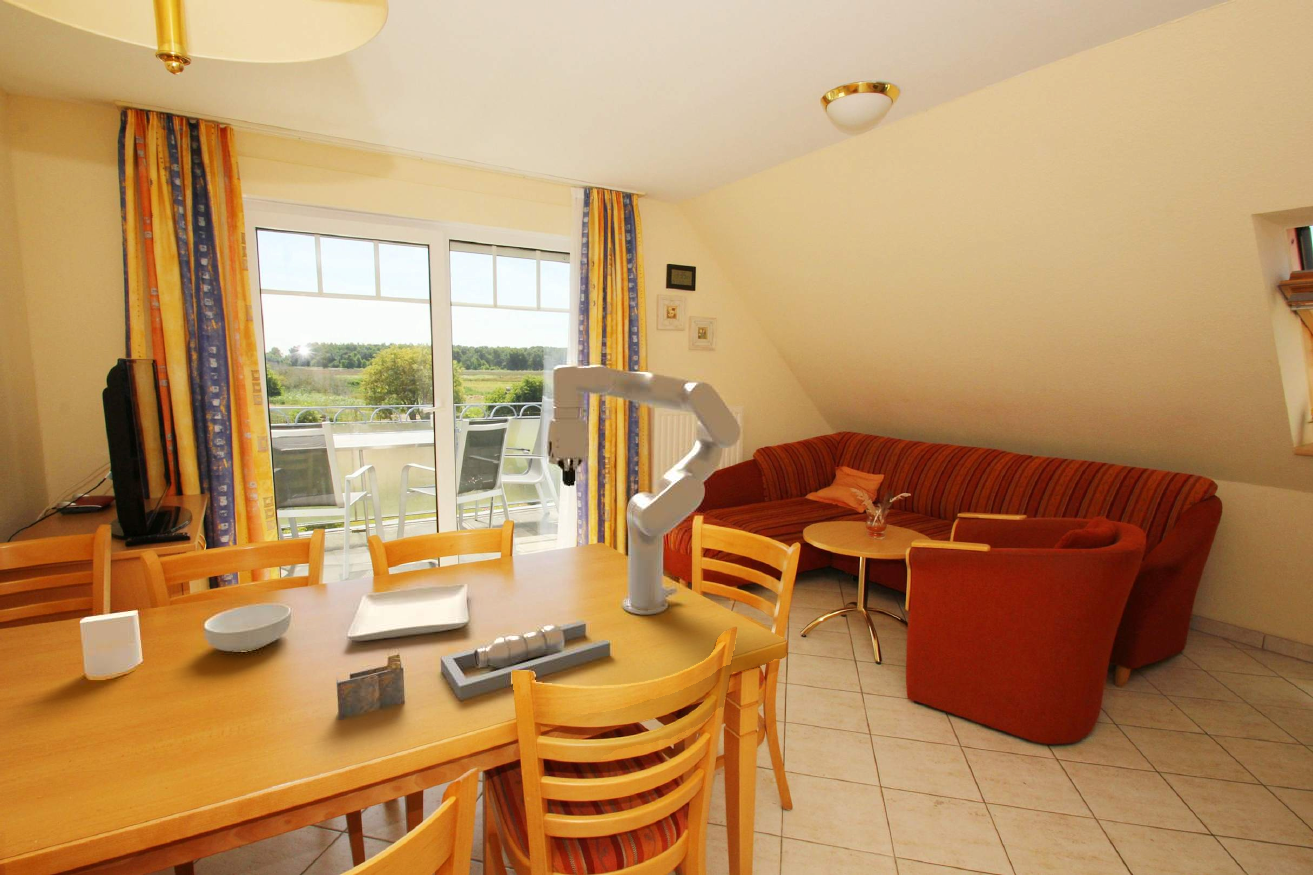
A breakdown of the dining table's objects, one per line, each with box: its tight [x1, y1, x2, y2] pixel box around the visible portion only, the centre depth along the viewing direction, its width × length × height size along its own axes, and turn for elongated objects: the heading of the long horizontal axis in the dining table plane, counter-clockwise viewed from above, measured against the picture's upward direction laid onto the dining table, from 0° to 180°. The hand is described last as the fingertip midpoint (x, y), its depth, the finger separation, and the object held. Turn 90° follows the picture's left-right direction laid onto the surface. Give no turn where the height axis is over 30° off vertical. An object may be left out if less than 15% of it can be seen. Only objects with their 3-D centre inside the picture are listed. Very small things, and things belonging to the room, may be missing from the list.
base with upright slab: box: [79, 610, 143, 677], centre depth 126 cm, size 9×9×12 cm
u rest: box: [440, 620, 611, 701], centre depth 131 cm, size 34×14×3 cm, turn 124°
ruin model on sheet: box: [335, 653, 406, 720], centre depth 113 cm, size 11×3×10 cm, turn 121°
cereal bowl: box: [203, 602, 292, 652], centre depth 138 cm, size 17×17×7 cm
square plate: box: [346, 583, 470, 642], centre depth 154 cm, size 27×27×4 cm
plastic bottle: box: [474, 624, 565, 670], centre depth 132 cm, size 6×7×20 cm
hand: (569, 484), depth 153 cm, fingers closed
